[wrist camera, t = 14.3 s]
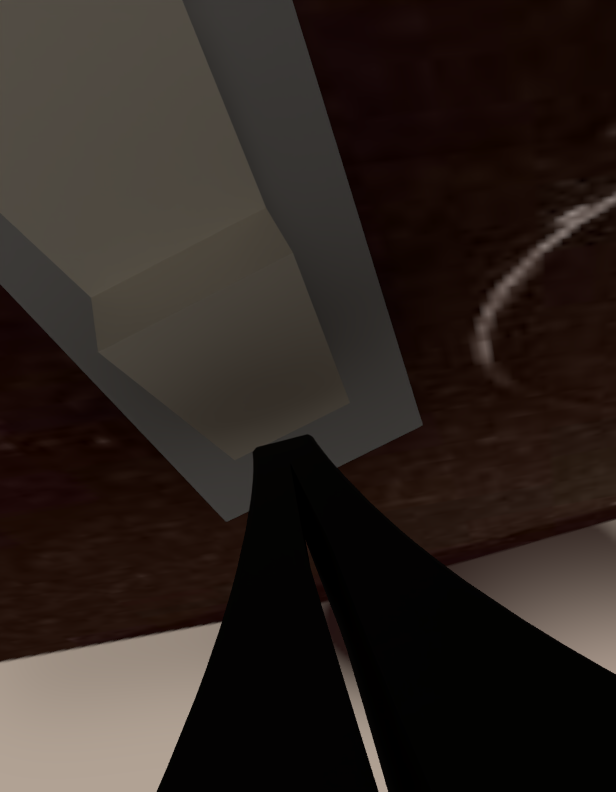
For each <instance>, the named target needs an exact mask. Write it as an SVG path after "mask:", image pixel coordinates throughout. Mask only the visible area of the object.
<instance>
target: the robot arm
mask: <svg viewBox="0 0 616 792" xmlns="http://www.w3.org/2000/svg"><path fill="white" fill-rule="evenodd" d="M252 453H253V483H252V492H251V501H250V507H249V513H248V520H247V526H246V531H245V536H244V541H243V545H242V549H241V554H240V558H239V563H238V567H237V571H236V575H235V579H234V583H233V587H232V590H231V594H230V597H229V601H228V604H227V607H226V611H225V614H224V617H223V621H222V624H221V627H220V630H219V633H218V636H217V639H216V642H215V645H214V647H213V650H212V654H211V656H210V659H209V662H208V665H207V668H206V671H205V673H204V676H203V679H202V682H201V685H200V687H199V690H198V692H197V695H196V698H195V700H194V703H193V705H192V708H191V710H190V712H189V715H188V717H187V720H186V722H185V725H184V727H183V730H182V732H181V735H180V737H179V740H178V742H177V744H176V747H175V749H174V752H173V754H172V757H171V759H170V762H169V764H168V767H167V769H166V771H165V774H164V776H163V778H162V780H161V783H160V785H159V788H158V790H157V792H378V789H377V785H376V782H375V779H374V776H373V772H372V769H371V766H370V763H369V760H368V756H367V753H366V750H365V747H364V744H363V741H362V737H361V734H360V731H359V728H358V724H357V721H356V718H355V714H354V711H353V708H352V705H351V701H350V698H349V695H348V691H347V688H346V685H345V682H344V678H343V675H342V672H341V669H340V665H339V662H338V659H337V655H336V653H335V649H334V646H333V642H332V639H331V636H330V632H329V629H328V626H327V622H326V619H325V616H324V612H323V609H322V606H321V602H320V599H319V595H318V592H317V589H316V585H315V582H314V579H313V575H312V572H311V568H310V563H309V557H308V552H307V547H306V542H307V545H308V548H309V550H310V553H311V556H312V558H313V561H314V563H315V566H316V569H317V571H318V574H319V576H320V579H321V582H322V584H323V587H324V589H325V592H326V594H327V597H328V600H329V602H330V605H331V607H332V610H333V613H334V615H335V618H336V620H337V623H338V626H339V628H340V631H341V634H342V637H343V640H344V643H345V645H346V648H347V651H348V655H349V658H350V661H351V665H352V668H353V672H354V675H355V678H356V682H357V685H358V688H359V692H360V696H361V699H362V702H363V706H364V709H365V713H366V716H367V720H368V723H369V727H370V730H371V733H372V737H373V740H374V744H375V747H376V751H377V754H378V758H379V761H380V765H381V768H382V772H383V775H384V779H385V782H386V786H387V789H388V792H616V674H614V673H612V672H611V671H609V670H607V669H605V668H603V667H602V666H600V665H598V664H596V663H595V662H593V661H591V660H590V659H588V658H586V657H584V656H583V655H581V654H579V653H577V652H576V651H574V650H572V649H571V648H569V647H567V646H565V645H564V644H562V643H560V642H559V641H557V640H556V639H554V638H552V637H551V636H549V635H547V634H546V633H544V632H543V631H541V630H539V629H538V628H536V627H534V626H533V625H531V624H530V623H528V622H526V621H525V620H523V619H521V618H520V617H519V616H517V615H516V614H514V613H512V612H511V611H509V610H508V609H507V608H505V607H504V606H502V605H501V604H499V603H498V602H496V601H494V600H493V599H492V598H490V597H488V596H487V595H486V594H484V593H483V592H481V591H480V590H478V589H477V588H475V587H474V586H472V585H471V584H469V583H468V582H466V581H465V580H464V579H462V578H461V577H459V576H458V575H457V574H455V573H454V572H453V571H451V570H450V569H449V568H447V567H446V566H445V565H443V564H442V563H441V562H439V561H438V560H437V559H435V558H434V557H433V556H432V555H430V554H429V553H428V552H427V551H425V550H424V549H423V548H421V547H420V546H419V545H418V544H416V543H415V542H414V541H413V540H412V539H410V538H409V537H408V536H407V535H406V534H405V533H403V532H402V531H401V530H400V529H399V528H398V527H396V526H395V525H394V524H393V523H392V522H391V521H390V520H389V519H388V518H386V517H385V516H384V515H383V514H382V513H381V512H380V511H379V510H378V509H377V508H376V507H375V506H374V505H372V504H371V503H370V502H369V501H368V500H367V499H366V498H365V497H364V496H363V495H362V494H361V493H360V492H359V491H358V490H357V489H356V488H355V486H354V485H353V484H352V483H351V482H350V481H349V480H348V479H347V478H346V477H345V476H344V475H343V474H342V473H341V472H340V470H339V469H338V468H337V467H336V466H335V465H334V464H333V462H332V461H331V460H330V459H329V458H328V456H327V455H326V454H325V453H324V451H323V450H322V449H321V448H320V446H319V445H318V444H317V442H316V441H315V439H314V438H313V437H312V436H311V435H309V434H306V435H302V436H298V437H294V438H290V439H286V440H282V441H279V442H275V443H271V444H267V445H263V446H259V447H256V448H255V450H254V451H253V452H252ZM305 540H306V541H305Z"/></svg>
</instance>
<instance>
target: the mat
mask: <svg viewBox="0 0 616 792" xmlns="http://www.w3.org/2000/svg"><path fill="white" fill-rule="evenodd" d="M182 1H183V3H184V6H185V8H186V11H187V13H188V16H189V18H190V21H191V23H192V26H193V28H194V31H195V33H196V35H197V38H198V40H199V43H200V45H201V48H202V50H203V53H204V55H205V58H206V60H207V63H208V65H209V68H210V70H211V73H212V75H213V78H214V80H215V83H216V85H217V87H218V90H219V92H220V95H221V97H222V100H223V102H224V105H225V107H226V110H227V112H228V115H229V117H230V120H231V122H232V125H233V127H234V130H235V132H236V134H237V137H238V139H239V142H240V144H241V147H242V149H243V152H244V154H245V157H246V159H247V162H248V164H249V167H250V169H251V172H252V174H253V177H254V179H255V182H256V184H257V186H258V189H259V191H260V194H261V196H262V199H263V201H264V204H265V206H266V208H267V210H268V212H269V213H270V215H271V217H272V218H273V220H274V222H275V224H276V225H277V227H278V229H279V230H280V232H281V234H282V235H283V237H284V239H285V240H286V242H287V244H288V245H289V247H290V249H291V250H292V252H293V254H294V257H295V260H296V262H297V265H298V268H299V270H300V273H301V275H302V278H303V281H304V283H305V286H306V289H307V291H308V294H309V296H310V299H311V302H312V304H313V307H314V310H315V312H316V315H317V317H318V320H319V323H320V325H321V328H322V331H323V333H324V336H325V338H326V341H327V344H328V346H329V349H330V352H331V354H332V357H333V359H334V362H335V365H336V367H337V370H338V373H339V375H340V378H341V380H342V383H343V386H344V388H345V391H346V393H347V396H348V399H349V401H350V403H349V404H347V405H345V406H343V407H341V408H339V409H337V410H335V411H333V412H331V413H329V414H327V415H325V416H323V417H321V418H319V419H317V420H315V421H313V422H311V423H309V424H307V425H305V426H303V427H301V428H299V429H297V430H295V431H293V432H291V433H289V434H287V435H285V436H283V437H281V438H279V439H277V440H275V441H273V442H271V443H275V442H279V441H282V440H286V439H290V438H294V437H298V436H302V435H306V434H309V435H311V436H312V437H313V438H314V439H315V441H316V442H317V444H318V445H319V446H320V448H321V449H322V450H323V451H324V453H325V454H326V455H327V456H328V458H329V459H330V460H331V461H332V462H333V464H334V465H335V466H336V467H339V466H341V465H343V464H345V463H347V462H349V461H351V460H353V459H355V458H357V457H359V456H361V455H363V454H365V453H367V452H369V451H371V450H373V449H375V448H378V447H380V446H382V445H384V444H386V443H388V442H390V441H392V440H394V439H396V438H398V437H400V436H402V435H404V434H406V433H408V432H410V431H412V430H414V429H416V428H418V427H420V426H422V421H421V418H420V415H419V412H418V408H417V405H416V402H415V398H414V395H413V392H412V389H411V385H410V382H409V379H408V376H407V372H406V369H405V366H404V363H403V359H402V356H401V353H400V350H399V346H398V343H397V340H396V337H395V333H394V330H393V327H392V324H391V320H390V317H389V314H388V311H387V307H386V304H385V301H384V298H383V294H382V291H381V288H380V285H379V281H378V278H377V275H376V272H375V268H374V265H373V262H372V259H371V255H370V252H369V249H368V245H367V242H366V239H365V236H364V232H363V229H362V226H361V223H360V219H359V216H358V213H357V210H356V206H355V203H354V200H353V197H352V193H351V190H350V187H349V184H348V180H347V177H346V174H345V171H344V167H343V164H342V161H341V158H340V154H339V151H338V148H337V145H336V141H335V138H334V135H333V132H332V128H331V125H330V122H329V119H328V115H327V112H326V109H325V106H324V102H323V99H322V96H321V93H320V89H319V86H318V83H317V79H316V76H315V73H314V70H313V66H312V63H311V60H310V57H309V53H308V50H307V47H306V44H305V40H304V37H303V34H302V31H301V27H300V24H299V21H298V18H297V14H296V11H295V8H294V5H293V1H292V0H182ZM0 284H1V285H2V286H3V287H4V288H5V289H6V291H7V292H8V293H9V294H10V295H11V296H12V297H13V298H14V299H15V300H16V301H17V302H18V303H19V304H20V305H21V306H22V307H23V308H24V309H25V311H26V312H27V313H28V314H29V315H30V316H31V317H32V318H33V319H34V320H35V321H36V322H37V323H38V324H39V325H40V326H41V327H42V328H43V329H44V331H45V332H46V333H47V334H48V335H49V336H50V337H51V338H52V339H53V340H54V341H55V342H56V343H57V344H58V345H59V346H60V347H61V348H62V349H63V351H64V352H65V353H66V354H67V355H68V356H69V357H70V358H71V359H72V360H73V361H74V362H75V363H76V364H77V365H78V366H79V367H80V368H81V369H82V371H83V372H84V373H85V374H86V375H87V376H88V377H89V378H90V379H91V380H92V381H93V382H94V383H95V384H96V385H97V386H98V387H99V388H100V389H101V391H102V392H103V393H104V394H105V395H106V396H107V397H108V398H109V399H110V400H111V401H112V402H113V403H114V404H115V405H116V406H117V407H118V408H119V409H120V411H121V412H122V413H123V414H124V415H125V416H126V417H127V418H128V419H129V420H130V421H131V422H132V423H133V424H134V425H135V426H136V427H137V428H138V429H139V431H140V432H141V433H142V434H143V435H144V436H145V437H146V438H147V439H148V440H149V441H150V442H151V443H152V444H153V445H154V446H155V447H156V448H157V449H158V451H159V452H160V453H161V454H162V455H163V456H164V457H165V458H166V459H167V460H168V461H169V462H170V463H171V464H172V465H173V466H174V467H175V468H176V469H177V471H178V472H179V473H180V474H181V475H182V476H183V477H184V478H185V479H186V480H187V481H188V482H189V483H190V484H191V485H192V486H193V487H194V488H195V489H196V491H197V492H198V493H199V494H200V495H201V496H202V497H203V498H204V499H205V500H206V501H207V502H208V503H209V504H210V505H211V506H212V507H213V508H214V509H215V511H216V512H217V513H218V514H219V515H220V516H221V517H222V518H223V519H224V520H225V521H226V522H227V521H229V520H231V519H233V518H235V517H237V516H239V515H241V514H244V513H246V512H248V511H249V507H250V501H251V492H252V483H253V453H252V452H251V453H249V454H246V455H244V456H242V457H240V458H238V459H236V460H234V459H232V458H231V457H230V456H229V455H227V454H226V453H225V452H223V451H222V450H221V449H220V448H218V447H217V446H216V445H215V444H213V443H212V442H211V441H210V440H208V439H207V438H206V437H205V436H203V435H202V434H201V433H199V432H198V431H197V430H196V429H194V428H193V427H192V426H191V425H189V424H188V423H187V422H186V421H184V420H183V419H182V418H181V417H179V416H178V415H177V414H176V413H174V412H173V411H172V410H170V409H169V408H168V407H167V406H165V405H164V404H163V403H162V402H160V401H159V400H158V399H157V398H155V397H154V396H153V395H152V394H150V393H149V392H148V391H146V390H145V389H144V388H143V387H141V386H140V385H139V384H138V383H136V382H135V381H134V380H133V379H131V378H130V377H129V376H128V375H126V374H125V373H124V372H122V371H121V370H120V369H119V368H117V367H116V366H115V365H114V364H112V363H111V362H110V361H109V360H107V359H106V358H105V357H104V356H102V355H101V354H100V353H98V348H97V340H96V332H95V325H94V317H93V309H92V302H91V297H90V296H89V295H88V294H86V293H85V292H84V291H83V290H82V289H81V288H80V287H79V286H78V285H77V284H76V283H75V282H74V281H73V280H71V279H70V278H69V277H68V276H67V275H66V274H65V273H64V272H63V271H62V270H61V269H60V268H59V267H58V266H56V265H55V264H54V263H53V262H52V261H51V260H50V259H49V258H48V257H47V256H46V255H45V254H44V253H43V252H41V251H40V250H39V249H38V248H37V247H36V246H35V245H34V244H33V243H32V242H31V241H30V240H29V239H27V238H26V237H25V236H24V235H23V234H22V233H21V232H20V231H19V230H18V229H17V228H16V227H15V226H14V225H12V224H11V223H10V222H9V221H8V220H7V219H6V218H5V217H4V216H3V215H2V214H1V213H0ZM271 443H269V444H271Z"/></svg>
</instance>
